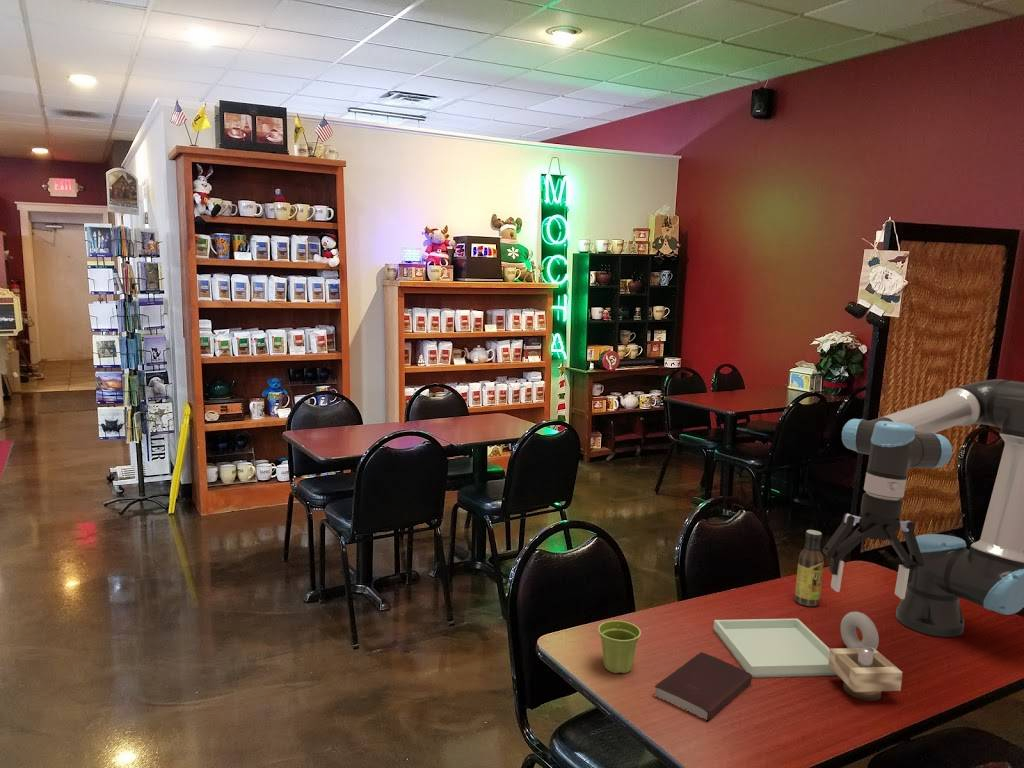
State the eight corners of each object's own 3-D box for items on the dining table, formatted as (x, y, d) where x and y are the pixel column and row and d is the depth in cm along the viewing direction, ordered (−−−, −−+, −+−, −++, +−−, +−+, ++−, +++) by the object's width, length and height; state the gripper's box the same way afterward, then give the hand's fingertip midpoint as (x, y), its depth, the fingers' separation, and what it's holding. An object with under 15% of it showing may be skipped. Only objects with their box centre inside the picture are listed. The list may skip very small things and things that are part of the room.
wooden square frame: (871, 664, 156) (873, 647, 155) (900, 690, 146) (902, 672, 146) (828, 665, 155) (829, 648, 154) (854, 691, 145) (856, 673, 145)
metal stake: (868, 681, 155) (872, 640, 154) (888, 700, 148) (893, 657, 146) (836, 682, 154) (840, 640, 153) (855, 701, 147) (860, 658, 146)
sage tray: (796, 628, 178) (797, 618, 178) (844, 675, 157) (845, 664, 157) (713, 629, 176) (714, 620, 176) (750, 677, 155) (751, 666, 155)
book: (752, 686, 152) (753, 672, 152) (707, 725, 138) (708, 709, 138) (699, 664, 161) (700, 650, 160) (652, 698, 147) (653, 683, 147)
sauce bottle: (813, 610, 189) (820, 538, 186) (790, 602, 193) (796, 531, 190) (823, 602, 193) (829, 532, 191) (800, 595, 198) (806, 526, 195)
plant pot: (587, 667, 157) (589, 630, 156) (610, 651, 164) (612, 616, 163) (624, 683, 151) (626, 645, 150) (646, 666, 158) (648, 629, 157)
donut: (880, 663, 162) (884, 622, 161) (868, 665, 161) (872, 624, 160) (846, 642, 172) (850, 603, 170) (835, 644, 171) (839, 605, 169)
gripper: (830, 493, 145) (815, 593, 147) (953, 506, 144) (936, 606, 147) (816, 484, 152) (801, 579, 155) (933, 497, 152) (916, 592, 154)
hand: (867, 593), depth 151 cm, fingers open, 13 cm apart
